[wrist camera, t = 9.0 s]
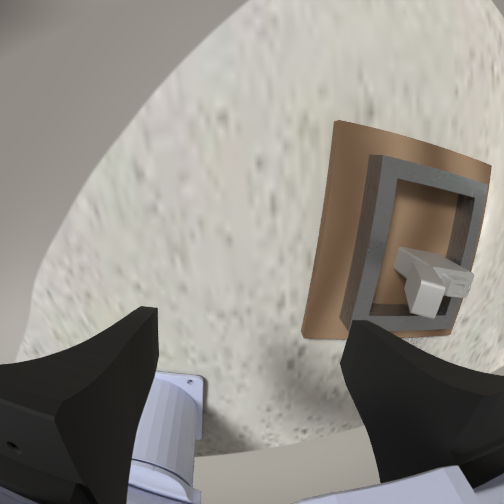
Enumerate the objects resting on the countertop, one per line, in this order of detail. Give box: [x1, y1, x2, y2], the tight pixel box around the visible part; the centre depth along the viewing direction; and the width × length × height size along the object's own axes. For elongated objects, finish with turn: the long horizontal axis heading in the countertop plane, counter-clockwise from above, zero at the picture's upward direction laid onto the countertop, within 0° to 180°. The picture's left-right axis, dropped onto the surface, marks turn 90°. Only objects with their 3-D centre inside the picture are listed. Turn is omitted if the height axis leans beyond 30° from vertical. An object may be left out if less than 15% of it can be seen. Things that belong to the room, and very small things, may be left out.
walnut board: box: [301, 120, 492, 339], centre depth 21 cm, size 14×15×1 cm
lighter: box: [393, 247, 474, 319], centre depth 17 cm, size 7×2×8 cm, turn 80°
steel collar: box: [339, 154, 488, 332], centre depth 20 cm, size 9×11×2 cm
